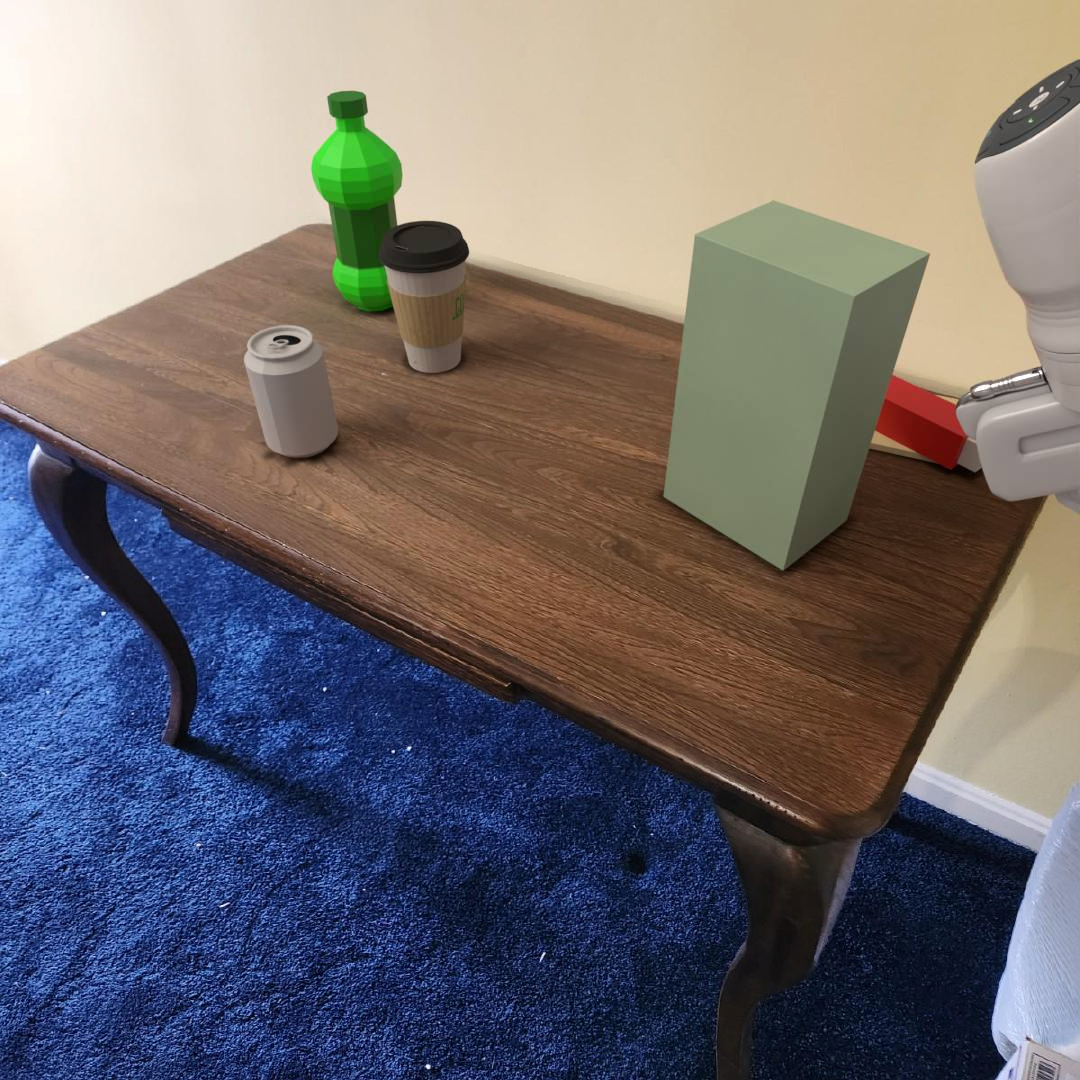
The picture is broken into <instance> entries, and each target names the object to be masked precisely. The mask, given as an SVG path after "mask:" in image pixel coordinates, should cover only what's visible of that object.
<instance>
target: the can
mask: <svg viewBox="0 0 1080 1080" xmlns="http://www.w3.org/2000/svg"><path fill="white" fill-rule="evenodd" d="M314 338H315V337H314V334H313V333H312V331H310V330H308V329H307V328H305V327H302V326H299V325H292V324H291V325H290V324H283V325H274V326H270V327H267V328H264V329H261V330H259V331H257V332H256V333H255V334H253V335H251V337H250V338H249V339H248V341H247V345H246V348H247V351H246V352H245V354H244V356H243V357H244V358H243V364H244V367H245V370H246V375H247V378H248V381H249V385H250V389H251V393H252V396H253V400H254V404H255V408H256V412H257V415H258V418H259V422H260V426H261V430H262V434H263V437H264V442H265V443H266V446H267V448H269V449H270V450H271V451H273V452H274V453H277V454H279V455H281V456H285V457H287V458H291V459H292V458H293V459H303V458H309V457H314V456H316V455H318V454H320V453H323V452H324V451H325V450H326V449H328V448H329V447H330V445H331V444H333V443H334V442H335V440H336V438H337V437H338V435H339V425H338V420H337V414H336V410H335V404H334V399H333V395H332V390H331V383H330V379H329V375H328V369H327V364H326V359H325V354H324V350H323V347H322V345H321V343H320V342H318V341H316V340H315V339H314Z"/></svg>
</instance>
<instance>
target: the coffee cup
mask: <svg viewBox="0 0 1080 1080" xmlns="http://www.w3.org/2000/svg"><path fill="white" fill-rule="evenodd" d="M463 236H464V235H463V233H462V231H461V230H460V229H459V227H457V226H455V225H453V224H452V223H448V222H444V221H437V220H416V221H409V222H404V223H401V224H397V226H395V227H393V228H391V229H390V230H388V231H387V232H386V233H385V234H384V236H383V242H382V245H381V247H380V249H379V259H380V262H381V263H382V264H383V265H385V269H386V273H387V277H388V279H387V284H388V288H389V291H390V295H391V299H392V303H393V306H392V307H393V310H394V314H395V319H396V323H397V326H398V331H399V335H400V337H401V339H402V341H403V345H404V348H405V352H406V357H407V361H408V364H409V365H410V367H411V368H413V369H414V370H416V371H418V372H422V373H427V374H438V373H444V372H448V371H450V370H452V369H454V368H456V367H457V366H458V365H459V363H460V362H461V358H462V341H463V339H462V337H463V333H464V322H465V303H466V301H465V300H466V283H467V277H466V261H467V259H468V258H469V256H470V247H469V245H468V243H467V241H466V239H465V238H464V237H463Z"/></svg>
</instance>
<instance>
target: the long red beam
mask: <svg viewBox="0 0 1080 1080" xmlns="http://www.w3.org/2000/svg"><path fill="white" fill-rule="evenodd" d="M936 395H937V394H934V393H933V392H930V391H929V390H925V389H924V388H922V387H919V386H917V385H915V384H913V383H911V382H909V381H906V380H904V379H903V378H900V377H898V376H896V375H893V374H892V377H891V380H890V384H889V387H888V390H887V393H886V396H885V400H884V403H883V406H882V409H881V412H880V416H879V419H878V422H877V425H876V428H875V431H877V432H879V433H881V434H883V435H884V436H886V437H888V438H890V439H892V440H894V441H896V442H898V443H900V444H902V445H904V446H906V447H907V448H909V449H911V450H913V451H915V452H917V453H919V454H921V455H923V456H925V457H927V458H929V459H930V460H932V461H934V462H936V463H935V464H938V465H940V466H942V467H944V468H946V469H948V470H949V471H951V470H952V469H954V468H956V467H957V466H958V465H960V466H962V467H964V468H965V469H968V470H969V471H971V472H973V473H976V472H978V471H979V470H981V469H982V466H981V462H980V459H979V454H978V450H977V443H976V440H974V439H972V438H970V437H969V436H968V435H966V433H965V432H964V431H963V429H962V427H961V424H960V422H959V420H958V418H957V416H956V412H955V408H956V405H955V404H953V403H951V402H949V401H947V400H945V399H943V398H941V397H939V396H940V395H939V396H936Z"/></svg>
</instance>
